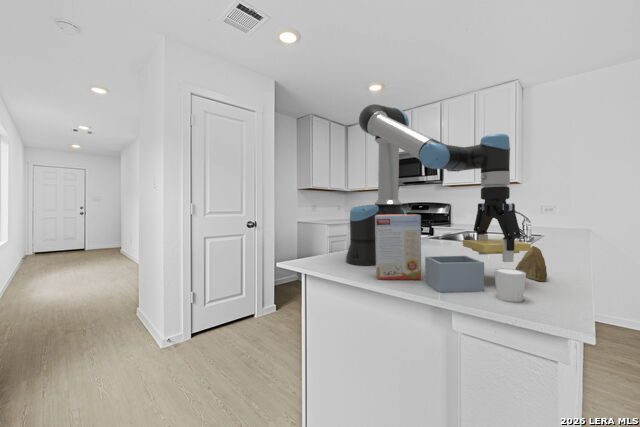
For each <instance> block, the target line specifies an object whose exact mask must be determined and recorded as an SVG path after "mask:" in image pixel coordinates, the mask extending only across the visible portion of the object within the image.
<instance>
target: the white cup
mask: <svg viewBox="0 0 640 427" xmlns="http://www.w3.org/2000/svg"><path fill="white" fill-rule="evenodd" d="M493 272H494V282H495V290H496V292H495V293H496V297H497V298H498V299H499V300H502V301H506V302H510V303H511V302H512V303H514V302H515V303H521V302H523V301H524V300H523V299H524V292H525V286H526V278H527V277H526V273H525V272H523V271H520V270H515V269H514V268H496V269H494V270H493Z"/></svg>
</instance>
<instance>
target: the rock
mask: <svg viewBox="0 0 640 427" xmlns="http://www.w3.org/2000/svg"><path fill="white" fill-rule="evenodd" d="M514 270H520V271H523V272H525V273H526V278H527V279H529V280H530V279H531V280H534V281H537V282H546V281H547V277H548V273H547V272H548V271H547V265H546V261H545V258H544V256H543V253H542V250H541V249H540V248H539V247H537V246H535V245H531V251H526V253H525V254H524V255H523V257H522V258H521V260H520V261H519V262H518V263H517V265H516V267H515V269H514Z"/></svg>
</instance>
